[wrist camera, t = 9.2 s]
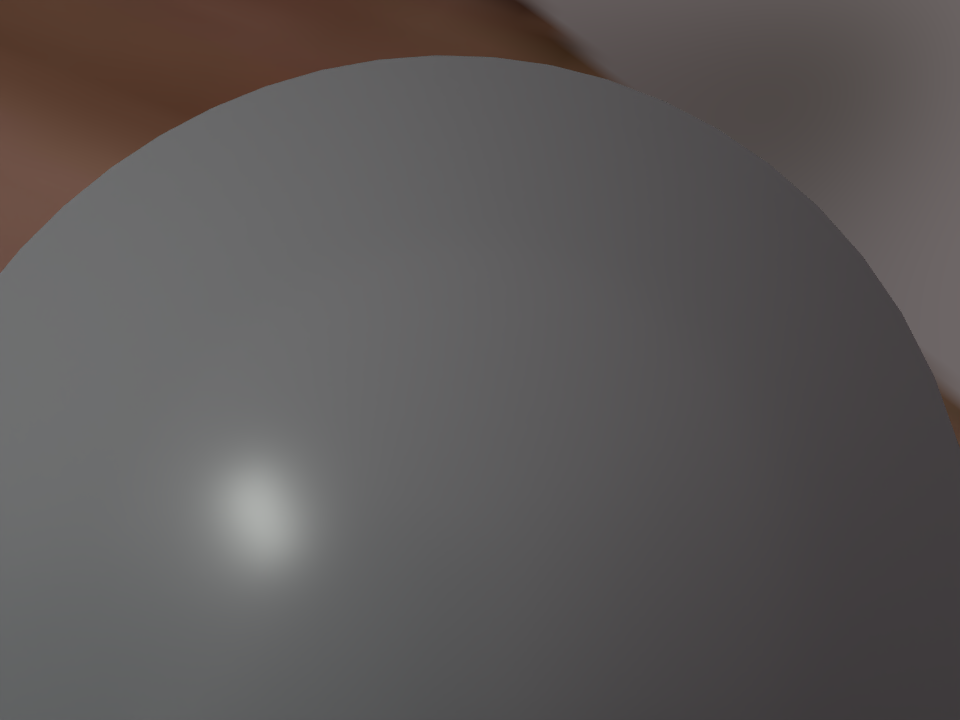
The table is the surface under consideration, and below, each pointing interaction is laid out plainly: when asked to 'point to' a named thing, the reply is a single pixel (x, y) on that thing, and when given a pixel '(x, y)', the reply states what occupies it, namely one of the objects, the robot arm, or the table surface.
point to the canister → (465, 424)
